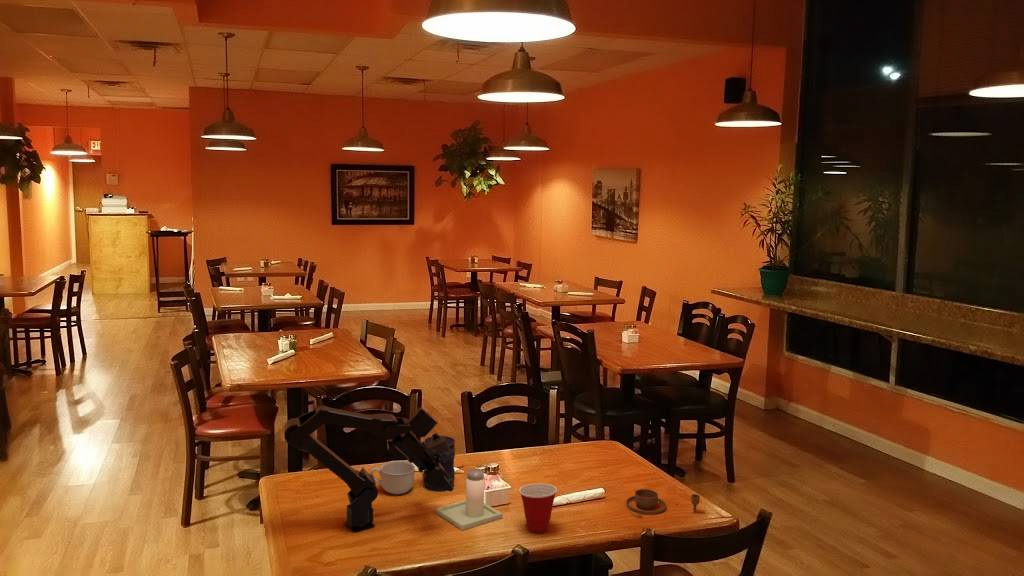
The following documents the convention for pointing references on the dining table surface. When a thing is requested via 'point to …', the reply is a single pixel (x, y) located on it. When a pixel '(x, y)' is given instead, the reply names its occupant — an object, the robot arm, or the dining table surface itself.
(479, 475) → the salt shaker
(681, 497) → the dining table surface
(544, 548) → the dining table surface
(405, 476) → the teacup
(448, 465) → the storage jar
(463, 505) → the tray
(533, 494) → the plastic cup
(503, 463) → the dining table surface
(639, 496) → the place setting
